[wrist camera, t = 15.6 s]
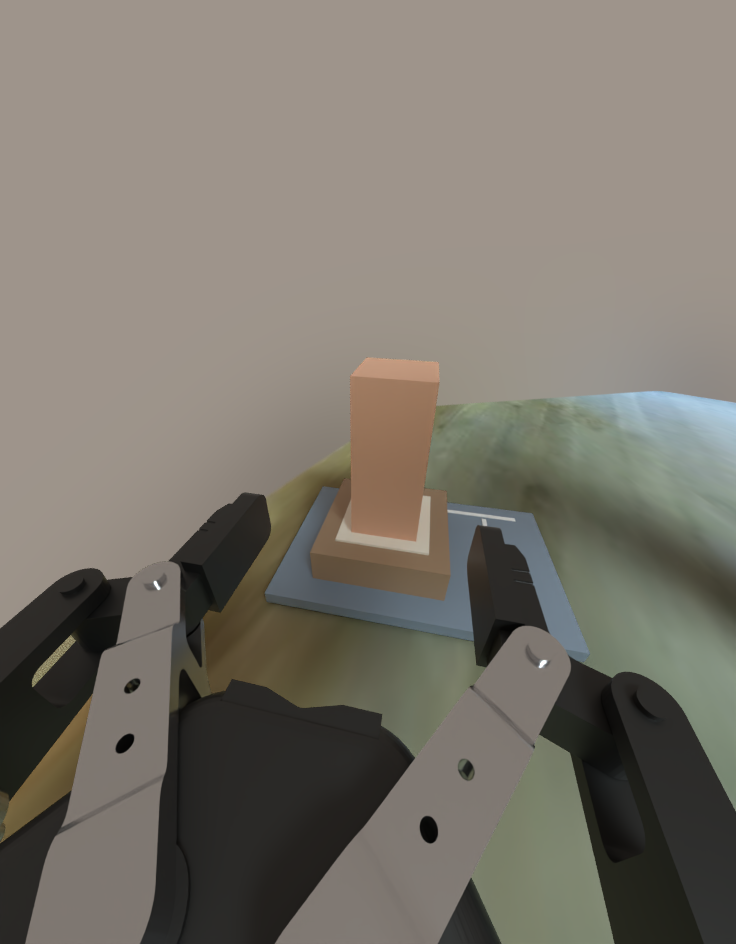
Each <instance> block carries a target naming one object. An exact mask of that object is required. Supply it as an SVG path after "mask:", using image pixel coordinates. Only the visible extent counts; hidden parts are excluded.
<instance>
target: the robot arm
mask: <svg viewBox="0 0 736 944" xmlns="http://www.w3.org/2000/svg"><path fill="white" fill-rule="evenodd" d="M270 531H271V523H270V518H269V513H268V508H267V503H266V498H265V496H264V495H260V494H252V493H242V494H241V495H240V496H239V497H238V498H237V499H236V500H235V502H234V503H233V504H227V505H225V506H224V507H222V508H221V509H219V510H217V511H216V512H215V513H214V514H213V515H212V516H211V517H210V518H209V519H208V520H207V523H204V524H203V525H202V526H201V527H200V529H199V531H197V532H196V533H195V534H194V535H193V536H192V537H191V538H190V539H189V540H188V541H187V542H186V543H185V544H184V545H183V546H182V548H181V549H180V550H179V551H178V552H177V553H176V554H175V555H174V556H173V557H172V558H171V559H170V560H169V561H167V562H166V561H164V562H158V563H155V564H152V565H150V566H147V567H145V568H144V569H142V570H141V571H139V572H138V573H137V574H136V575H135V576H134V577H129V578H120V579H111V580H107V579H106V578H105V576H104V575H103V573H102V572H101V571H100V570H98V569H94V568H93V569H92V568H90V569H82V570H78V571H75V572H73V573H70V574H68V575H66V576H64V577H63V578H61V579H59V580H58V581H56V582H55V583H54V584H52V585H51V586H50V587H49V588H48V589H46V590H45V591H44V592H43V593H42V594H41V595H39V596H38V597H37V598H36V599H35V600H33V602H31V603H30V604H29V605H28V606H26V607H25V608H24V609H23V610H22V611H20V612H19V613H18V614H17V615H16V616H15V617H13V618H12V619H11V620H10V621H9V622H7V623H6V624H5V625H4V626H3V627H2V628H0V841H1V840H2V838H3V836H4V833H5V824H4V823H2V822H3V820H4V818H5V816H6V813H7V810H8V806H9V801H10V800H11V799H12V797H13V796H14V795H15V793H16V792H17V791H18V790H19V788H20V787H21V786H22V784H23V783H24V782H25V780H26V779H27V778H28V777H29V775H30V774H31V773H32V771H33V770H34V769H35V768H36V766H37V765H38V764H39V762H40V761H41V760H42V758H43V757H44V756H45V755H46V753H47V752H48V751H49V749H50V748H51V747H52V746H53V744H54V743H55V742H56V740H57V739H58V738H59V737H60V735H61V734H62V733H63V731H64V730H65V729H66V727H67V726H68V725H69V724H70V722H71V721H72V720H73V718H74V717H75V716H76V715H77V713H78V712H79V711H80V709H81V708H82V707H83V705H84V704H85V703H86V702H87V700H88V699H89V698H90V696H91V695H92V694H93V695H92V700H91V705H90V709H89V714H88V718H87V723H86V728H85V732H84V737H83V741H82V746H81V750H80V755H79V760H78V764H77V769H76V773H75V778H74V783H73V787H72V791H70V792H69V793H67V794H66V795H65V796H63V797H62V798H61V799H59V800H58V801H57V802H55V803H54V804H53V805H51V806H50V807H49V808H47V809H46V810H45V811H43V812H42V813H41V814H39V815H38V816H37V817H35V818H34V819H33V820H31V821H30V822H29V823H27V824H26V825H24V826H23V827H22V828H20V829H19V830H18V831H16V832H15V833H14V834H12V835H11V836H10V837H8V838H7V839H6V840H4V841H3V842H2V843H0V944H501V942H500V939H499V937H498V935H497V933H496V931H495V928H494V926H493V924H492V922H491V920H490V918H489V915H488V913H487V911H486V909H485V907H484V904H483V902H482V900H481V898H480V896H479V893H478V891H477V889H476V887H475V885H474V882H473V880H472V878H471V876H472V874H473V872H474V870H475V868H476V866H477V864H478V862H479V860H480V858H481V856H482V854H483V852H484V850H485V848H486V846H487V844H488V842H489V840H490V838H491V836H492V834H493V832H494V830H495V828H496V826H497V824H498V822H499V820H500V818H501V816H502V814H503V812H504V810H505V808H506V806H507V804H508V802H509V800H510V798H511V796H512V794H513V792H514V790H515V788H516V786H517V784H518V782H519V780H520V778H521V776H522V774H523V772H524V770H525V768H526V766H527V764H528V762H529V760H530V758H531V756H532V754H533V751H534V748H535V746H534V744H535V742H536V739H537V737H538V735H541V736H543V737H544V738H546V739H548V740H550V741H551V742H553V743H555V744H556V745H558V746H560V747H561V748H563V749H565V750H566V751H568V752H570V754H571V758H572V762H573V767H574V771H575V775H576V780H577V784H578V788H579V792H580V797H581V801H582V805H583V810H584V814H585V818H586V822H587V827H588V831H589V835H590V840H591V844H592V848H593V853H594V857H595V861H596V865H597V870H598V874H599V878H600V883H601V887H602V891H603V896H604V900H605V904H606V908H607V913H608V917H609V921H610V926H611V930H612V934H613V939H614V943H615V944H736V811H735V809H734V808H733V806H732V804H731V802H730V800H729V798H728V796H727V794H726V792H725V790H724V788H723V786H722V784H721V782H720V780H719V779H718V777H717V775H716V773H715V771H714V769H713V767H712V765H711V763H710V761H709V759H708V757H707V755H706V753H705V752H704V750H703V748H702V746H701V744H700V742H699V740H698V738H697V736H696V734H695V732H694V730H693V728H692V726H691V724H690V723H689V721H688V719H687V717H686V715H685V713H684V711H683V710H682V708H681V707H680V706H679V704H678V703H677V702H676V701H675V699H674V698H673V697H672V696H671V695H670V694H669V693H668V692H667V691H666V690H664V689H663V688H662V687H661V686H659V685H658V684H657V683H655V682H654V681H652V680H650V679H648V678H647V677H644V676H642V675H640V674H637V673H633V672H621V673H618V674H617V675H615V676H614V678H611V677H609V676H607V675H605V674H603V673H600V672H598V671H596V670H594V669H592V668H590V667H588V666H586V665H584V664H582V663H580V662H578V661H576V660H575V659H573V658H572V657H570V656H569V655H568V654H567V652H566V650H565V649H564V647H563V646H562V645H561V644H560V642H559V641H558V640H557V639H556V638H554V637H553V636H552V635H551V634H550V633H549V630H548V627H547V624H546V621H545V618H544V615H543V612H542V608H541V605H540V602H539V599H538V596H537V593H536V590H535V586H534V585H533V580H532V577H531V574H530V573H529V572H530V571H529V567H528V564H527V561H526V558H525V557H524V555H523V554H522V553H521V552H520V550H519V549H518V548H517V547H516V546H515V545H510V544H505V542H504V539H503V535H502V531H501V529H500V528H497V527H489V526H482V525H477V527H476V529H475V533H474V536H473V540H472V544H471V547H470V551H469V554H468V560H467V578H468V587H469V597H470V607H471V617H472V626H473V636H474V646H475V656H476V665H478V666H483V667H487V668H486V669H485V670H484V672H483V673H482V675H481V676H480V677H479V679H478V680H477V681H476V683H475V684H474V685H473V686H470V687H469V688H468V689H467V690H466V691H465V692H464V694H463V695H462V696H461V698H460V699H459V700H458V702H457V703H456V704H455V706H454V707H453V708H452V710H451V711H450V712H449V714H448V715H447V716H446V718H445V719H444V720H443V722H442V723H441V724H440V726H439V727H438V728H437V730H436V731H435V732H434V734H433V735H432V736H431V738H430V739H429V741H428V742H427V743H426V745H425V746H424V747H423V749H422V750H421V751H420V753H419V754H418V755H417V757H416V758H415V757H414V756H413V755H412V753H411V752H410V751H409V749H408V748H407V747H406V746H405V745H404V744H403V743H402V742H401V740H400V739H399V738H397V737H396V736H395V735H394V734H393V733H391V732H390V731H389V730H387V729H385V728H384V727H382V726H381V720H382V714H379V713H375V712H370V711H366V710H362V709H358V708H353V707H349V706H345V705H338V706H325V707H313V708H300V707H297V706H296V705H294V704H292V703H291V702H289V701H288V700H286V699H284V698H283V697H281V696H280V695H278V694H277V693H275V692H273V691H272V690H270V689H269V688H267V687H264V686H259V685H255V684H251V683H246V682H242V681H238V680H234V679H232V680H231V682H230V684H229V686H228V688H227V690H226V691H222V692H217V693H213V694H211V689H210V685H209V682H208V677H207V668H206V650H205V632H204V620H203V616H204V615H205V614H206V612H207V611H208V610H210V611H215V612H220V613H221V611H222V610H223V608H224V606H225V605H226V603H227V602H228V600H229V599H230V597H231V596H232V594H233V593H234V591H235V589H236V588H237V586H238V585H239V583H240V582H241V580H242V579H243V577H244V576H245V574H246V572H247V571H248V569H249V568H250V566H251V565H252V563H253V562H254V560H255V559H256V557H257V556H258V554H259V552H260V551H261V549H262V548H263V546H264V545H265V543H266V542H267V540H268V538H269V535H270ZM70 635H71V636H72V637H73V638H74V639H75V640H76V642H75V643H74V644H73V645H72V646H71V647H70V648H69V649H68V650H67V651H66V652H65V654H64V655H63V656H62V657H61V658H60V659H59V660H58V661H57V662H56V663H55V664H54V665H53V666H52V667H51V669H50V670H49V671H48V672H47V673H46V674H45V675H44V676H43V677H42V678H41V679H40V680H39V681H38V683H37V684H36V685H35V686H34V687H32V679H33V676H34V674H35V673H36V671H37V670H38V668H39V667H40V666H41V665H42V664H43V663H44V662H45V661H46V660H47V659H48V658H49V657H50V656H51V655H52V654H53V653H54V652H55V650H56V649H57V648H58V647H59V646H60V645H61V644H62V643H63V642H64V641H65V640H66V639H67V638H68V637H69V636H70Z"/></svg>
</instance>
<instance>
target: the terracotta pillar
mask: <svg viewBox="0 0 736 944" xmlns="http://www.w3.org/2000/svg"><path fill="white" fill-rule="evenodd" d="M438 388H439V362H429V361H414V360H398V359H383V358H368V357H367V358H366V359H365V360H364V361H363V362H362V363H361V364H360V366H359V367H358V368H357V369H356V370H355V371H354V372H353V373H352V375H351V376H350V400H351V401H350V405H351V406H350V408H351V409H350V411H351V532H354V533H361V534H367V535H374V536H381V537H388V538H394V539H401V540H408V541H414V542H416V539H417V532H418V525H419V519H420V512H421V505H422V498H423V491H424V484H425V478H426V471H427V464H428V457H429V450H430V443H431V437H432V430H433V423H434V416H435V409H436V402H437V396H438Z"/></svg>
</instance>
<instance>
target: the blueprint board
mask: <svg viewBox="0 0 736 944" xmlns="http://www.w3.org/2000/svg"><path fill="white" fill-rule="evenodd" d="M477 525H482V526H489V527H497V528H500V529H501V531H502V535H503V539H504V542H505V544H510V545H515V546H516V547H517V548H518V549H519V550H520V552H521V553H522V554H523V555H524V557H525V558H526V561H527V564H528V567H529V571H530V572H529V573H530V574H531V577H532V580H533V585H534V586H535V590H536V593H537V596H538V599H539V602H540V605H541V608H542V612H543V615H544V618H545V621H546V624H547V627H548V630H549V633H550V634H551V635H552V636H553V637H554V638H556V639H557V640H558V641H559V642H560V644H561V645H562V646H563V647H564V649H565V650H566V652H567V654H568V655H569V656H570V657H572V658H573V659H575V660H576V661H581V662H584V661H585V660H586V659H587V657H588V656H589V655H590V652H589V650H588V648H587V645H586V643H585V640H584V638H583V635H582V633H581V631H580V628H579V626H578V623H577V621H576V618H575V616H574V614H573V611H572V609H571V606H570V604H569V601H568V599H567V596H566V594H565V592H564V589H563V587H562V584H561V582H560V579H559V577H558V575H557V572H556V570H555V567H554V565H553V562H552V560H551V557H550V555H549V553H548V550H547V548H546V545H545V543H544V540H543V538H542V536H541V533H540V531H539V528H538V526H537V523H536V521H535V518H534V516H533V514H532V513H525V512H517V511H510V510H502V509H494V508H486V507H479V506H471V505H463V504H455V503H448V502H447V491H443V490H434V489H426V488H424V491H423V498H422V505H421V512H420V519H419V525H418V532H417V539H416V542H414V541H408V540H401V539H394V538H388V537H381V536H374V535H367V534H361V533H354V532H351V479H346V478H344V480H343V482H342V484H341V486H340V488H332V487H324V486H323V487H322V489H321V491H320V493H319V495H318V496H317V498H316V500H315V502H314V504H313V505H312V507H311V509H310V511H309V513H308V515H307V516H306V518H305V520H304V522H303V524H302V526H301V527H300V529H299V531H298V533H297V535H296V537H295V538H294V540H293V542H292V544H291V546H290V548H289V549H288V551H287V553H286V555H285V557H284V558H283V560H282V562H281V564H280V566H279V568H278V569H277V571H276V573H275V575H274V577H273V579H272V580H271V582H270V584H269V586H268V588H267V590H266V591H265V597H266V601H267V602H271V603H276V604H282V605H287V606H292V607H297V608H303V609H308V610H313V611H318V612H324V613H329V614H334V615H339V616H345V617H350V618H355V619H360V620H366V621H371V622H376V623H381V624H387V625H392V626H397V627H402V628H408V629H413V630H418V631H423V632H429V633H434V634H439V635H444V636H450V637H455V638H460V639H465V640H471V641H474V636H473V626H472V617H471V607H470V597H469V587H468V578H467V560H468V554H469V551H470V547H471V544H472V540H473V536H474V533H475V529H476V527H477Z"/></svg>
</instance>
